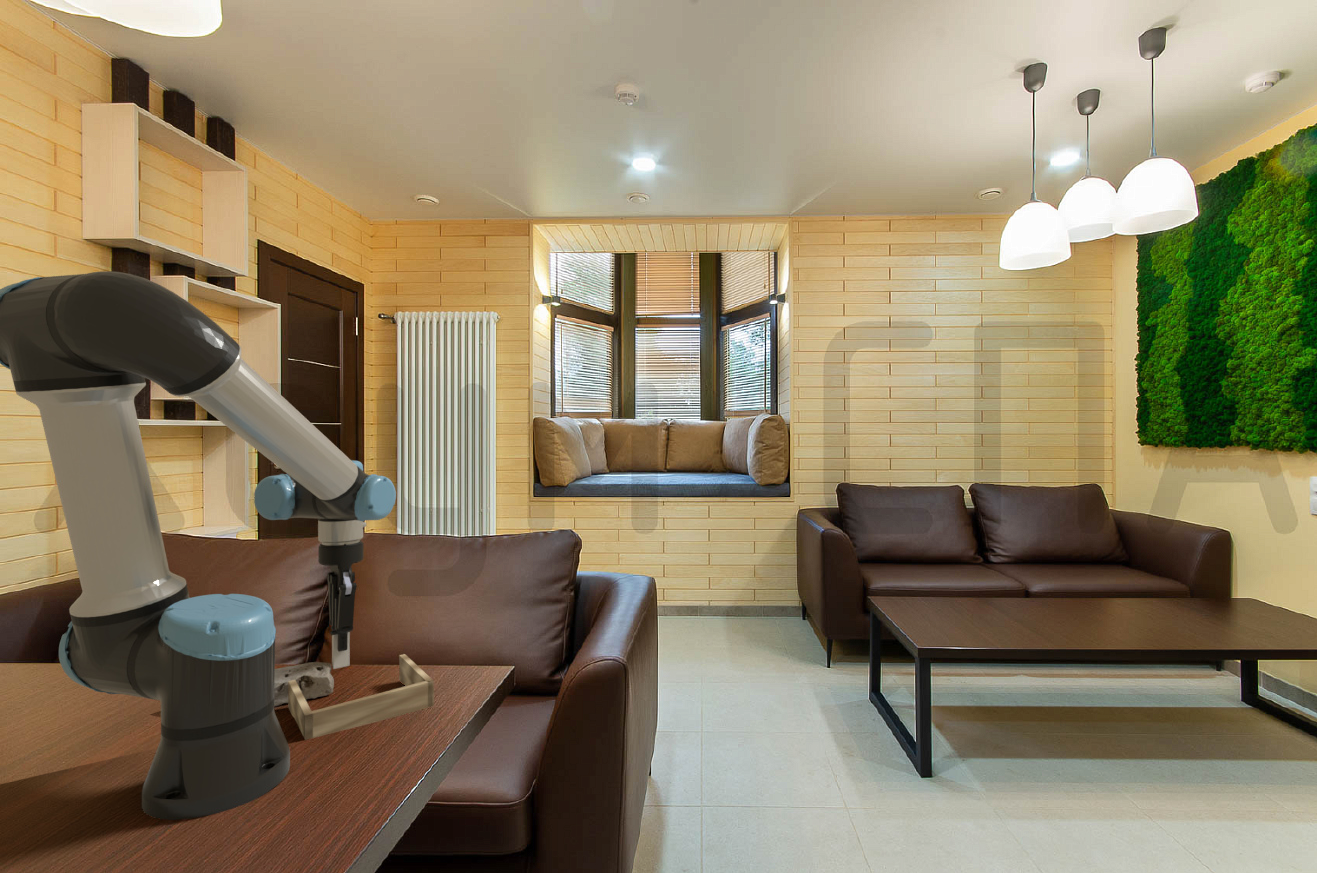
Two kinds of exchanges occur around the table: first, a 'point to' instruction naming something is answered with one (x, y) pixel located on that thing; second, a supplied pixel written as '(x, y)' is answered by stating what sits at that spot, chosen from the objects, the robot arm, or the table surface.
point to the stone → (303, 681)
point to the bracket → (364, 704)
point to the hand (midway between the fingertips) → (340, 666)
